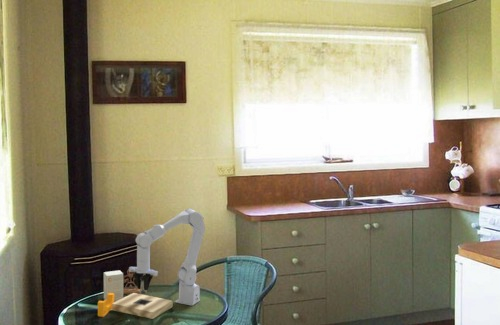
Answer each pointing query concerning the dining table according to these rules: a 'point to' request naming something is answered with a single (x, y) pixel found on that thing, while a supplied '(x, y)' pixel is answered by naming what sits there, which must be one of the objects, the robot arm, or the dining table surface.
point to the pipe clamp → (105, 305)
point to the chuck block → (142, 305)
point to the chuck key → (142, 286)
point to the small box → (113, 284)
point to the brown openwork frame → (127, 290)
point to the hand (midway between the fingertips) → (143, 289)
